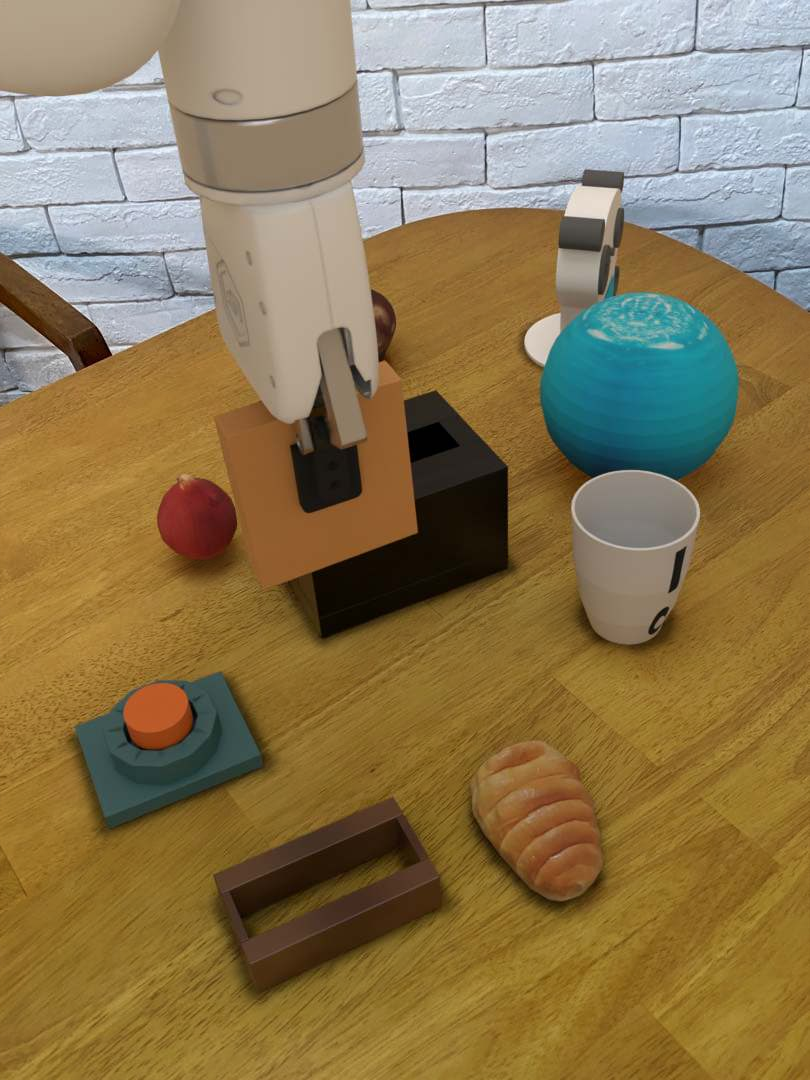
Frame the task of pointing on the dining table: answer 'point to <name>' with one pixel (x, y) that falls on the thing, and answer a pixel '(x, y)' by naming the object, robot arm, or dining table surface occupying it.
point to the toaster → (423, 527)
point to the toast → (272, 498)
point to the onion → (196, 518)
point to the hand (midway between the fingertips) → (321, 485)
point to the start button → (158, 716)
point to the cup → (632, 550)
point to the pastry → (539, 818)
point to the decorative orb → (639, 387)
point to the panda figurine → (583, 256)
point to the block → (168, 753)
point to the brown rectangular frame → (337, 920)
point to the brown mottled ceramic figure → (383, 322)
